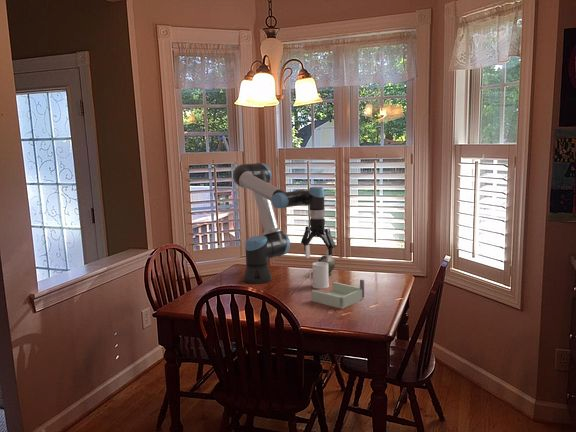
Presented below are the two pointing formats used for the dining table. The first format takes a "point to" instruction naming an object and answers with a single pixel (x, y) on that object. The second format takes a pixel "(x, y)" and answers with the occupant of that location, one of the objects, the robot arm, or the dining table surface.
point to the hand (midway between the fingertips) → (318, 259)
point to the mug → (320, 275)
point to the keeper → (340, 295)
